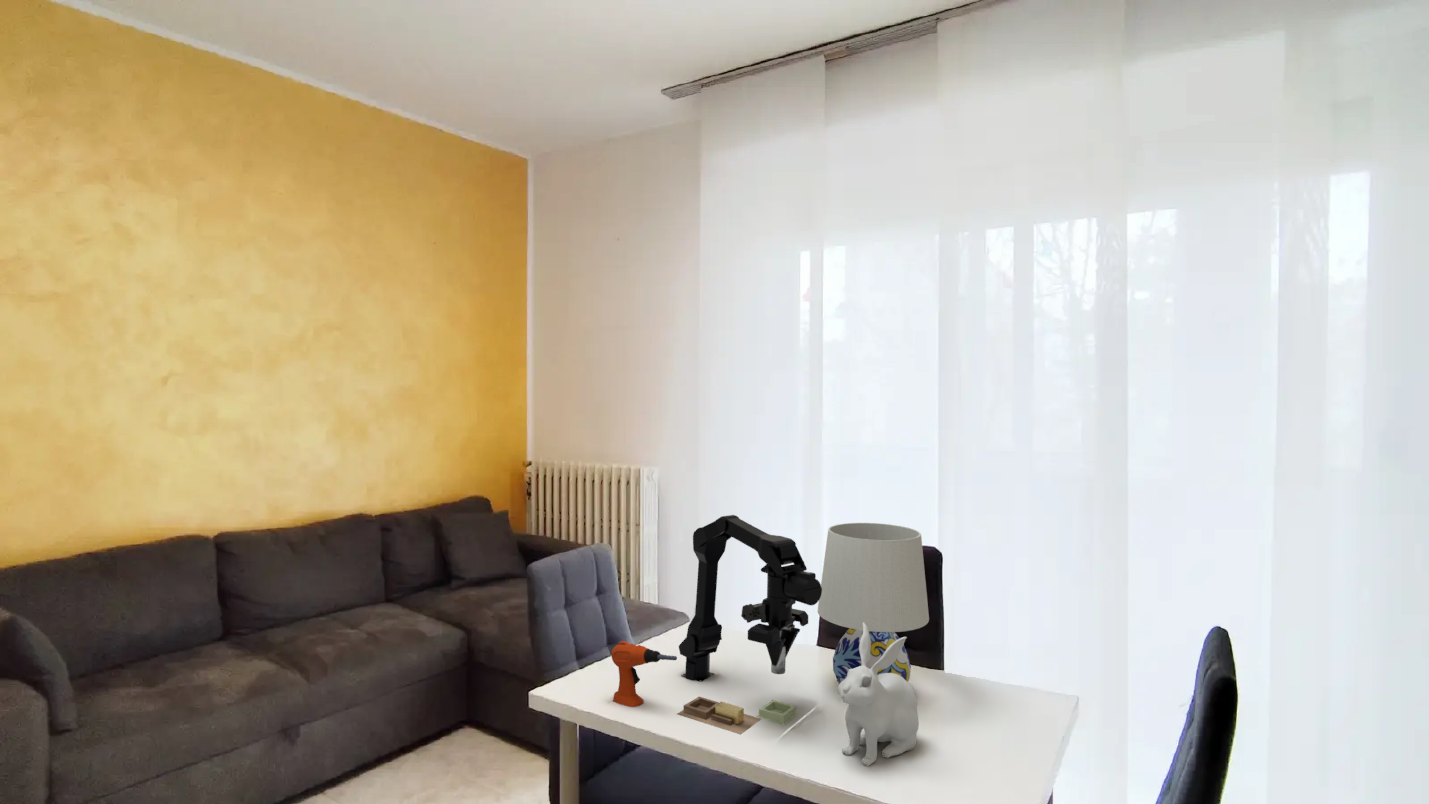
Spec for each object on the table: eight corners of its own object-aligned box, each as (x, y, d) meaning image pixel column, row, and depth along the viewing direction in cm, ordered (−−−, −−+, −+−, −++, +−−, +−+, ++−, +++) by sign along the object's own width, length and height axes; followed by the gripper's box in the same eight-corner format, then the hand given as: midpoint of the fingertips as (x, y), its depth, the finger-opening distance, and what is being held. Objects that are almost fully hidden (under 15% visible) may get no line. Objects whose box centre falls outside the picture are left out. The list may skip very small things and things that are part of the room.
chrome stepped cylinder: (775, 667, 169) (776, 635, 168) (787, 671, 167) (788, 638, 167) (768, 672, 166) (769, 639, 166) (781, 675, 164) (781, 642, 164)
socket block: (699, 702, 174) (699, 693, 174) (761, 721, 164) (761, 711, 164) (676, 716, 166) (676, 707, 166) (740, 737, 157) (740, 727, 157)
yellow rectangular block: (720, 713, 166) (721, 701, 166) (743, 720, 163) (743, 708, 163) (715, 717, 164) (715, 705, 164) (737, 724, 161) (738, 712, 161)
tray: (771, 708, 171) (771, 698, 171) (798, 715, 168) (798, 706, 168) (756, 719, 166) (756, 709, 166) (784, 727, 162) (784, 717, 162)
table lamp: (888, 665, 199) (891, 519, 199) (950, 707, 174) (954, 539, 173) (798, 676, 191) (800, 523, 190) (848, 721, 165) (852, 545, 164)
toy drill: (675, 716, 163) (669, 648, 164) (609, 707, 172) (603, 643, 173) (687, 708, 167) (681, 642, 168) (621, 700, 177) (616, 637, 177)
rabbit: (821, 753, 150) (823, 633, 150) (885, 726, 163) (888, 615, 163) (864, 777, 141) (866, 649, 141) (929, 747, 154) (932, 629, 153)
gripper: (768, 580, 178) (767, 643, 179) (727, 598, 163) (726, 667, 163) (810, 588, 172) (808, 653, 172) (771, 607, 157) (770, 679, 157)
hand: (778, 662), depth 166 cm, fingers closed on chrome stepped cylinder, 3 cm apart
